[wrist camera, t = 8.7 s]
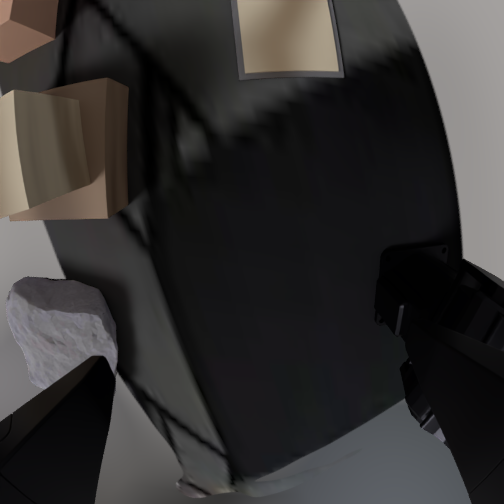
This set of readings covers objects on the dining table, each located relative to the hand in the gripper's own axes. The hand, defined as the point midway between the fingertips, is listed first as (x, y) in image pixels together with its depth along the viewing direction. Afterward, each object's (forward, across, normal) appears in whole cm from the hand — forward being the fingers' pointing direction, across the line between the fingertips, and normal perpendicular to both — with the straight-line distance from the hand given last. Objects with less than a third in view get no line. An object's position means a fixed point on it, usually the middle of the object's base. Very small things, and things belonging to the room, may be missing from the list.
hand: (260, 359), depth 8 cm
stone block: (+14, +16, +8) cm, 23 cm away
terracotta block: (+13, +15, -19) cm, 28 cm away
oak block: (+9, +11, -7) cm, 16 cm away
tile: (+13, -4, -13) cm, 19 cm away
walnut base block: (+13, +11, -7) cm, 19 cm away
